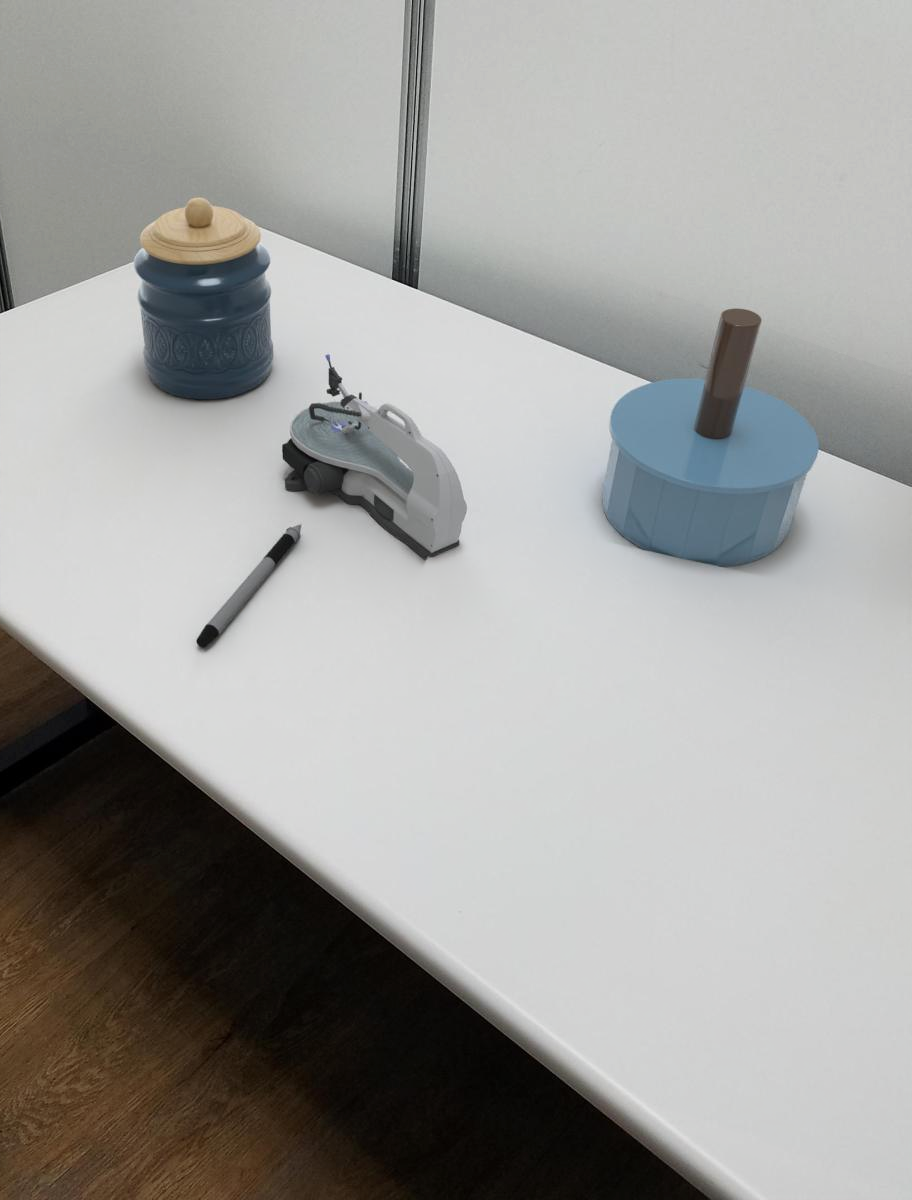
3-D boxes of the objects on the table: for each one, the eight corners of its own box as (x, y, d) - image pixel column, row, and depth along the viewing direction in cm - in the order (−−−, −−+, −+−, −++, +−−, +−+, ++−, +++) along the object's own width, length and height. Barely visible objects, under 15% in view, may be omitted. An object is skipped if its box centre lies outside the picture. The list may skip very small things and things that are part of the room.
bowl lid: (820, 411, 100) (860, 288, 93) (807, 519, 89) (851, 389, 82) (626, 376, 105) (649, 256, 98) (590, 475, 93) (612, 348, 86)
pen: (194, 647, 89) (192, 634, 88) (294, 527, 100) (294, 515, 99) (209, 653, 88) (208, 640, 87) (308, 531, 99) (308, 519, 99)
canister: (155, 337, 125) (138, 171, 114) (277, 339, 125) (273, 172, 113) (136, 401, 115) (115, 227, 104) (269, 404, 115) (263, 229, 103)
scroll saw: (514, 426, 92) (395, 473, 87) (500, 533, 99) (390, 582, 94) (365, 324, 105) (255, 361, 100) (363, 426, 112) (259, 464, 107)
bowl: (794, 479, 105) (817, 406, 100) (779, 585, 94) (804, 509, 89) (619, 445, 109) (633, 373, 104) (585, 542, 98) (599, 467, 93)
